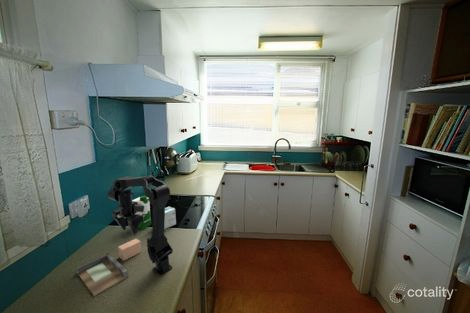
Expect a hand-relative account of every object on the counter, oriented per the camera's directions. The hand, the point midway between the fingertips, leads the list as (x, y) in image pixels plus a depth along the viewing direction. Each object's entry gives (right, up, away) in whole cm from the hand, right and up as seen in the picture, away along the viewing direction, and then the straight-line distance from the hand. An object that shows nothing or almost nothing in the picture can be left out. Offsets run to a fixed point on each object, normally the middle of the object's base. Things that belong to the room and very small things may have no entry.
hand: (129, 232), depth 105 cm
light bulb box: (+9, -7, +30) cm, 32 cm away
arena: (-5, -14, -13) cm, 20 cm away
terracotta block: (0, -12, +1) cm, 12 cm away
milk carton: (-6, -7, +30) cm, 31 cm away
